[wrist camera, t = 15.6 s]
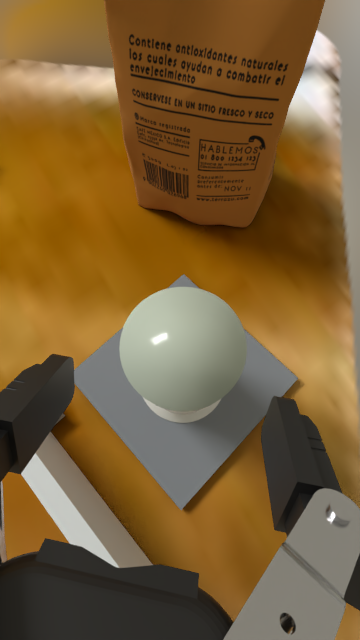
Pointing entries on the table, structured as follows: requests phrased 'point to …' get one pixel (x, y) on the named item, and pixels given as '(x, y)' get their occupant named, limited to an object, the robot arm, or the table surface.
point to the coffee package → (207, 98)
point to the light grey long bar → (79, 506)
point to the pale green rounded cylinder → (183, 349)
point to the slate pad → (182, 415)
